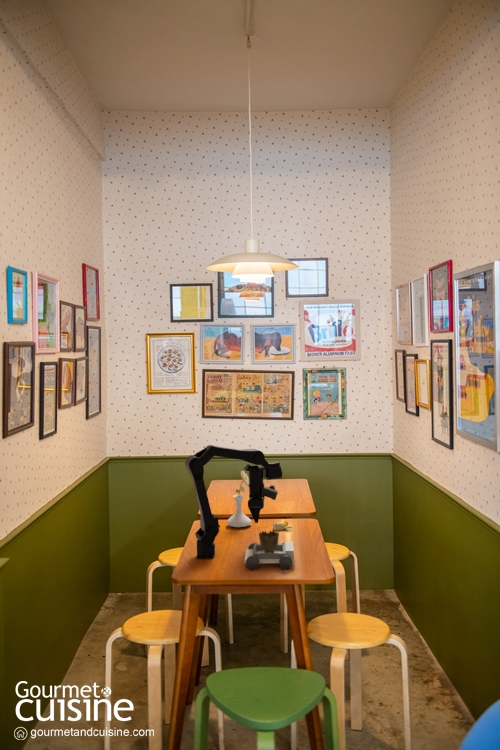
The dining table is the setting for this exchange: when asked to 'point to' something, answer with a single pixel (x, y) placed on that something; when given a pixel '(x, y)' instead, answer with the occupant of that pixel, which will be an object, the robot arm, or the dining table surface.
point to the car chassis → (270, 556)
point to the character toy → (281, 526)
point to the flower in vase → (239, 517)
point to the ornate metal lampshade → (268, 541)
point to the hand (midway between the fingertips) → (256, 520)
